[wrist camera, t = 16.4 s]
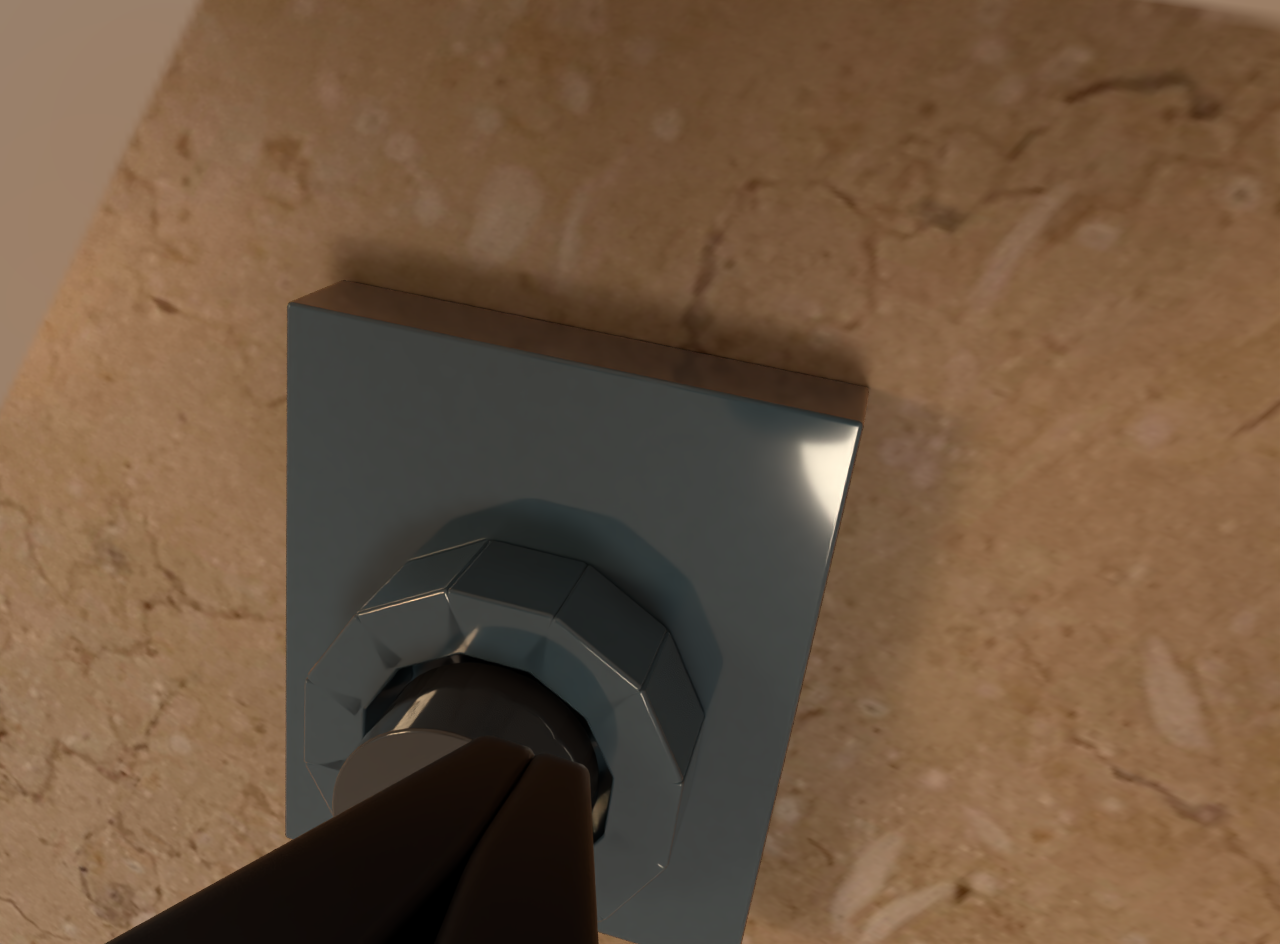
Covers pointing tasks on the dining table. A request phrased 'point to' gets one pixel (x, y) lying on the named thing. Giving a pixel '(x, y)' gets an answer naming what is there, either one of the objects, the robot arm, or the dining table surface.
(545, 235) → the dining table surface
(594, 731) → the knob base
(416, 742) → the dark rotary knob
